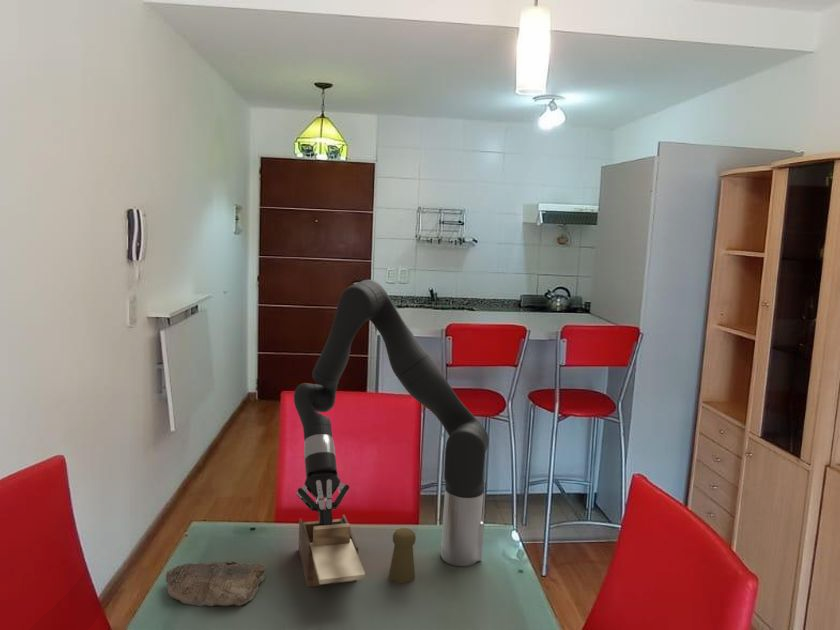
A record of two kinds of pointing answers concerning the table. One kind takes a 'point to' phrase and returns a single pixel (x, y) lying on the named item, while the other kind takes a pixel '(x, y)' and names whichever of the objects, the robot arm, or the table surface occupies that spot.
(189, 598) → the clay tablet
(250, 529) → the table surface
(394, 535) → the tan pawn
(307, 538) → the lid box
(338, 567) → the cover plate
